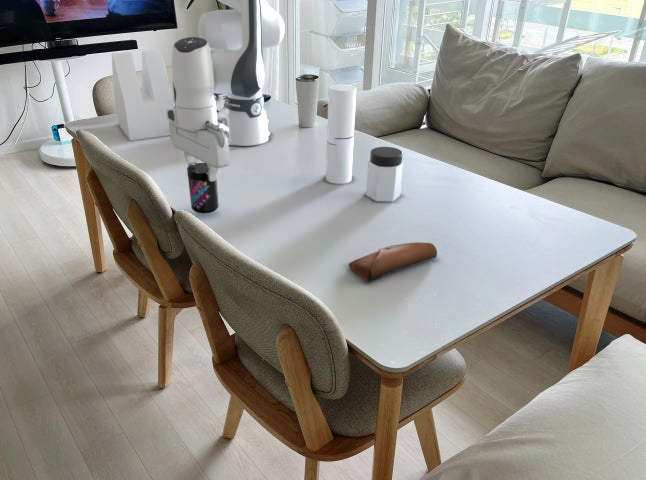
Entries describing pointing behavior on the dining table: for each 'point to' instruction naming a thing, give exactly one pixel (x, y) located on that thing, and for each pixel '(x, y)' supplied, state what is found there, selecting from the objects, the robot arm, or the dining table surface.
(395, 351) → the dining table surface
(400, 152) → the jar
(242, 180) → the dining table surface
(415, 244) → the sunglasses case
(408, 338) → the dining table surface
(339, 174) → the cylindrical container
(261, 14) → the robot arm
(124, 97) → the white notched block
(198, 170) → the supplement container
